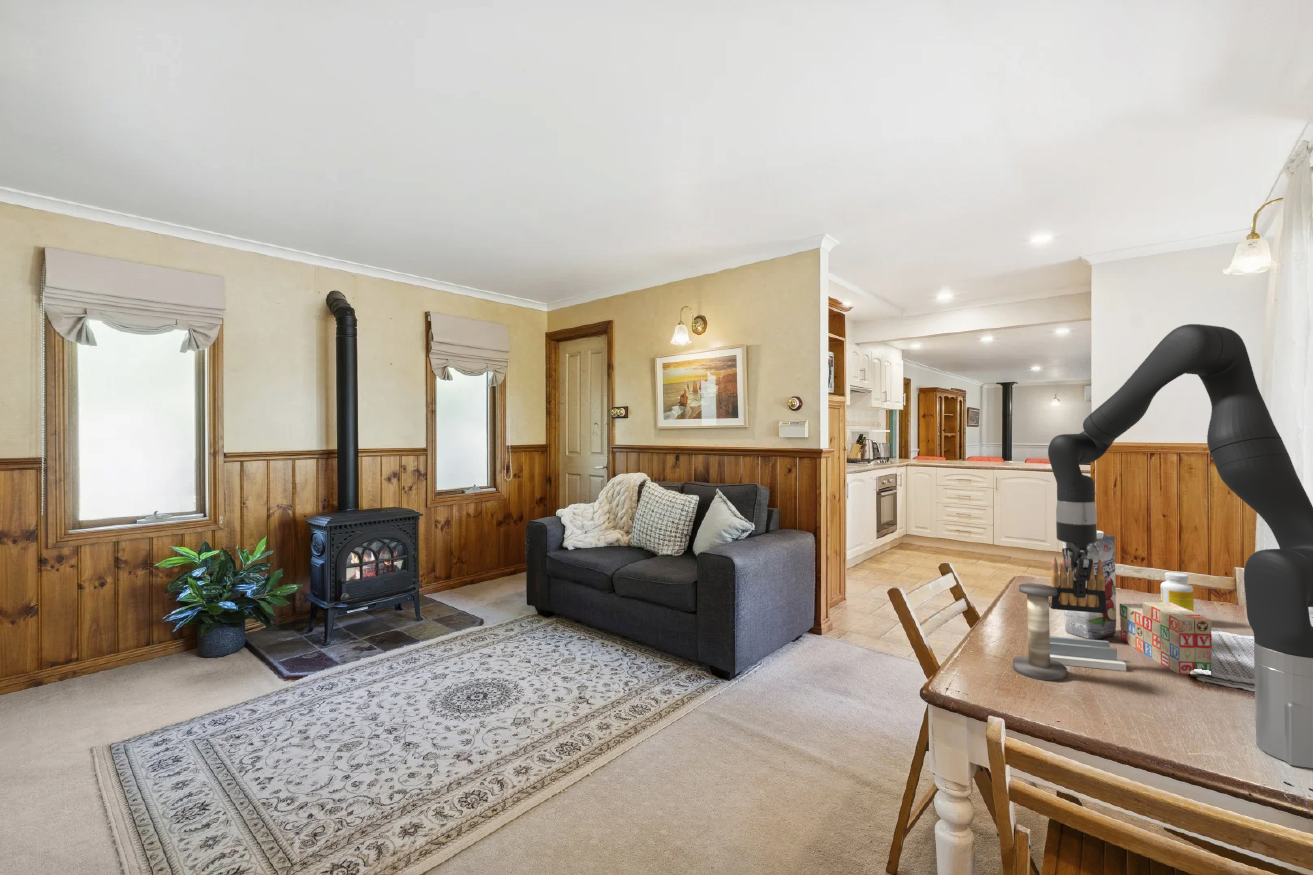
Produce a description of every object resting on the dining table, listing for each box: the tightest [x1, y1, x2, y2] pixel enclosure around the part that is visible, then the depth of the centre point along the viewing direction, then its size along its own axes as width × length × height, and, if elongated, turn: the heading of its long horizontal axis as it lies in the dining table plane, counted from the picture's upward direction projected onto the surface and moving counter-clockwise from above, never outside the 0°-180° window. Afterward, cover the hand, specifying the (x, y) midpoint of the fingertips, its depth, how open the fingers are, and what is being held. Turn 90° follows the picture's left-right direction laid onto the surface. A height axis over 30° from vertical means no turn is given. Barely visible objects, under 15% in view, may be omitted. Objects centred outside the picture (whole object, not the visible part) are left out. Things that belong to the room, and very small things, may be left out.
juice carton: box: [1062, 530, 1117, 640], centre depth 149 cm, size 9×10×27 cm
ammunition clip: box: [1049, 556, 1107, 614], centre depth 133 cm, size 11×2×12 cm, turn 69°
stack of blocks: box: [1119, 601, 1213, 676], centre depth 134 cm, size 21×6×12 cm, turn 169°
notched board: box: [1050, 635, 1127, 672], centre depth 134 cm, size 9×15×4 cm, turn 69°
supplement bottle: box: [1160, 571, 1195, 612], centre depth 158 cm, size 7×7×13 cm
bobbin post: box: [1012, 582, 1068, 682], centre depth 128 cm, size 10×10×18 cm
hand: (1077, 595), depth 133 cm, fingers closed on ammunition clip, 2 cm apart
